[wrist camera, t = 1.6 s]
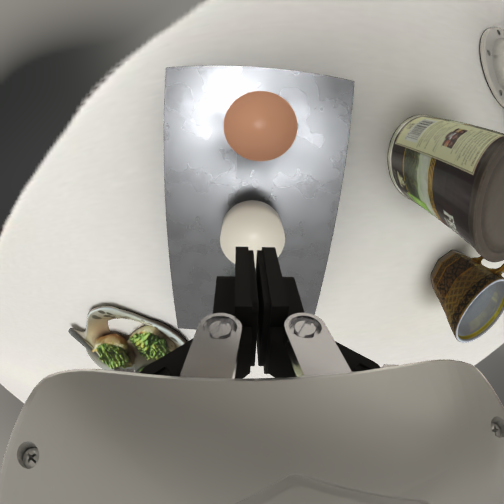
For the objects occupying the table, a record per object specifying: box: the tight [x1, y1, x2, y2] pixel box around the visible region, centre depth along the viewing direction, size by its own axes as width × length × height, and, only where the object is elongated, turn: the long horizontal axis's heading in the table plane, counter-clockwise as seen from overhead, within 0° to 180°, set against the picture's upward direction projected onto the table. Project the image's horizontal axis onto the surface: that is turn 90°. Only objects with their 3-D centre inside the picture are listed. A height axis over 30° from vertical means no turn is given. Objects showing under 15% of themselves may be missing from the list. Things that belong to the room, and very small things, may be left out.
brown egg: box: [223, 91, 298, 161], centre depth 21 cm, size 5×5×5 cm
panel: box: [164, 66, 354, 329], centre depth 27 cm, size 16×28×3 cm, turn 176°
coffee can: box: [388, 115, 504, 262], centre depth 20 cm, size 10×10×14 cm
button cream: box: [220, 200, 285, 268], centre depth 25 cm, size 5×5×5 cm
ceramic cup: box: [431, 250, 504, 343], centre depth 28 cm, size 13×10×10 cm
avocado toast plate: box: [69, 306, 187, 372], centre depth 37 cm, size 19×18×5 cm
